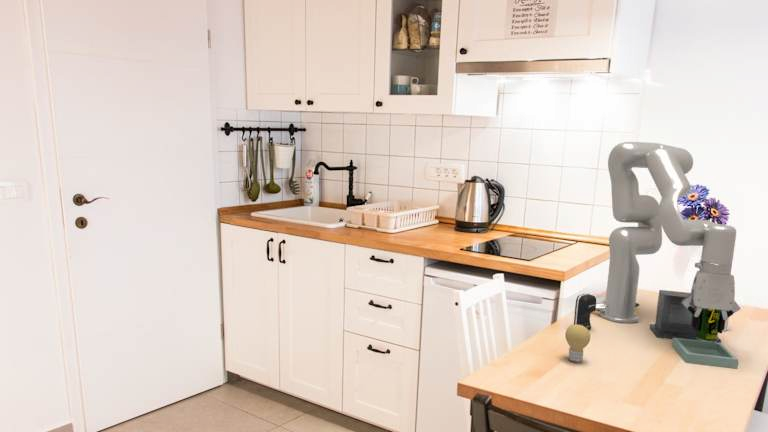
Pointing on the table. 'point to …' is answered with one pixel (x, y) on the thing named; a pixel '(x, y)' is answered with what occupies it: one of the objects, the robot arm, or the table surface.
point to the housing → (673, 317)
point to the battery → (584, 310)
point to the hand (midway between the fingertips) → (707, 329)
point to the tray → (704, 353)
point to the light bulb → (577, 341)
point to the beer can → (708, 325)
